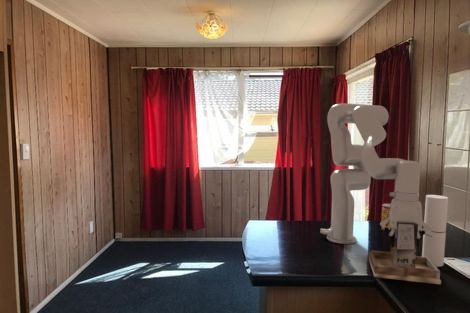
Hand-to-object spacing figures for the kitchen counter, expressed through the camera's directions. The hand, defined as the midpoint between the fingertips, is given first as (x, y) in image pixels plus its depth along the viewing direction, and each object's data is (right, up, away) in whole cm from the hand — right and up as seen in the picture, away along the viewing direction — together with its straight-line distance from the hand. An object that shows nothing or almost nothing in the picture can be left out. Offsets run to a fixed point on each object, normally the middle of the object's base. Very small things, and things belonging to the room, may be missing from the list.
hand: (403, 246), depth 123 cm
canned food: (+18, -5, +53) cm, 56 cm away
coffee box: (0, -7, +1) cm, 7 cm away
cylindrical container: (+15, -8, +9) cm, 20 cm away
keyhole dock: (0, -9, +1) cm, 9 cm away
